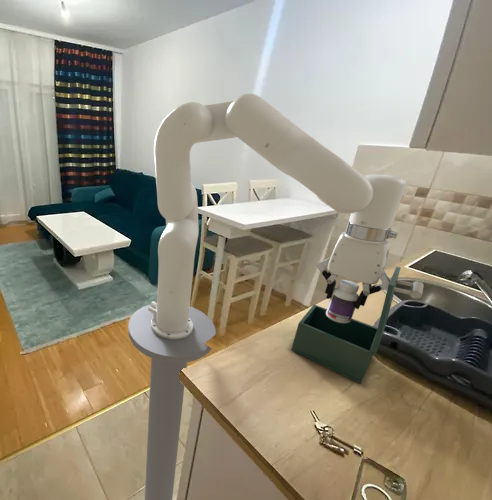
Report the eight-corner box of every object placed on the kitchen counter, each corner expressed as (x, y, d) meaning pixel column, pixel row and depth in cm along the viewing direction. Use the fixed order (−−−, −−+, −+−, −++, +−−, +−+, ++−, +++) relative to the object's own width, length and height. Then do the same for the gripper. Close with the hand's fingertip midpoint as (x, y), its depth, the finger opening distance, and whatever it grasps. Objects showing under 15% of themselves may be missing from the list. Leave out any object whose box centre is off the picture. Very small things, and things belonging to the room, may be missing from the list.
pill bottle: (354, 325, 70) (367, 290, 66) (329, 322, 71) (341, 287, 67) (345, 313, 75) (356, 280, 71) (322, 310, 76) (332, 277, 72)
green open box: (291, 349, 77) (298, 322, 74) (306, 329, 85) (314, 304, 82) (360, 384, 67) (373, 354, 64) (370, 357, 75) (382, 329, 72)
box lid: (388, 284, 59) (423, 292, 55) (396, 266, 67) (427, 272, 63) (371, 351, 64) (402, 362, 60) (380, 327, 72) (408, 335, 69)
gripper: (418, 238, 61) (389, 310, 68) (327, 220, 72) (310, 284, 79) (416, 246, 56) (384, 323, 63) (318, 226, 67) (300, 293, 74)
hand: (343, 301), depth 71 cm, fingers closed on pill bottle, 5 cm apart
